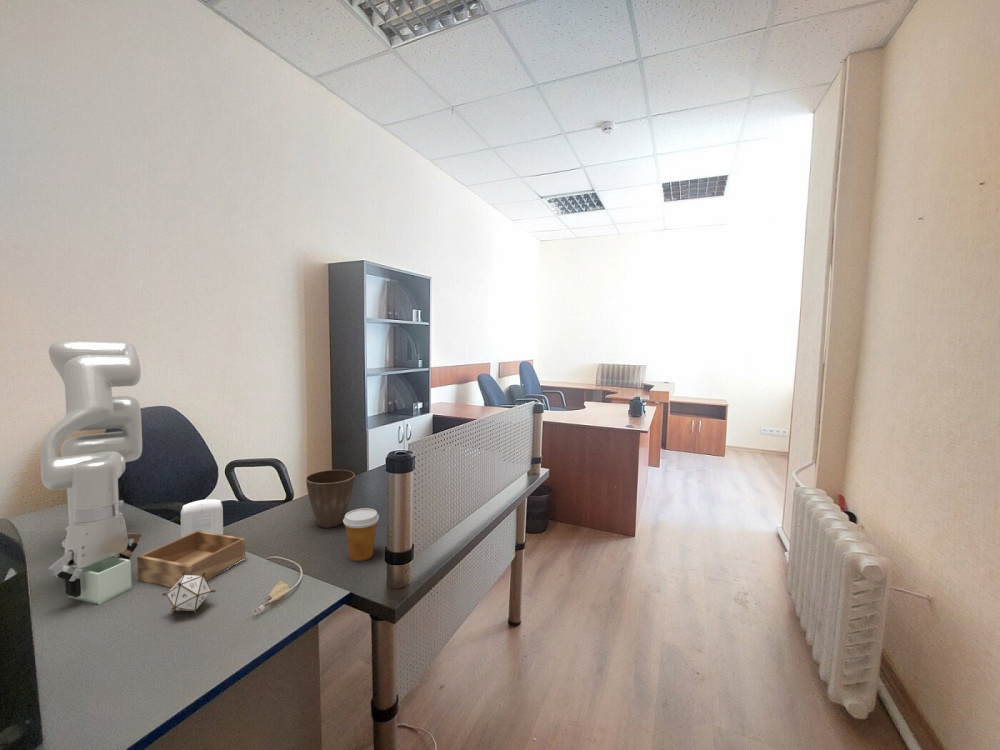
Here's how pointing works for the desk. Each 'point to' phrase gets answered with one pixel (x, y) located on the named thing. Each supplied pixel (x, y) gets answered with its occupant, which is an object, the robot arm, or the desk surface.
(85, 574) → the box
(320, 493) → the plant pot
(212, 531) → the photo printer
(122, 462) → the robot arm
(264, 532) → the desk surface
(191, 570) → the big crate
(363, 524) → the disposable coffee cup
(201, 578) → the game die
